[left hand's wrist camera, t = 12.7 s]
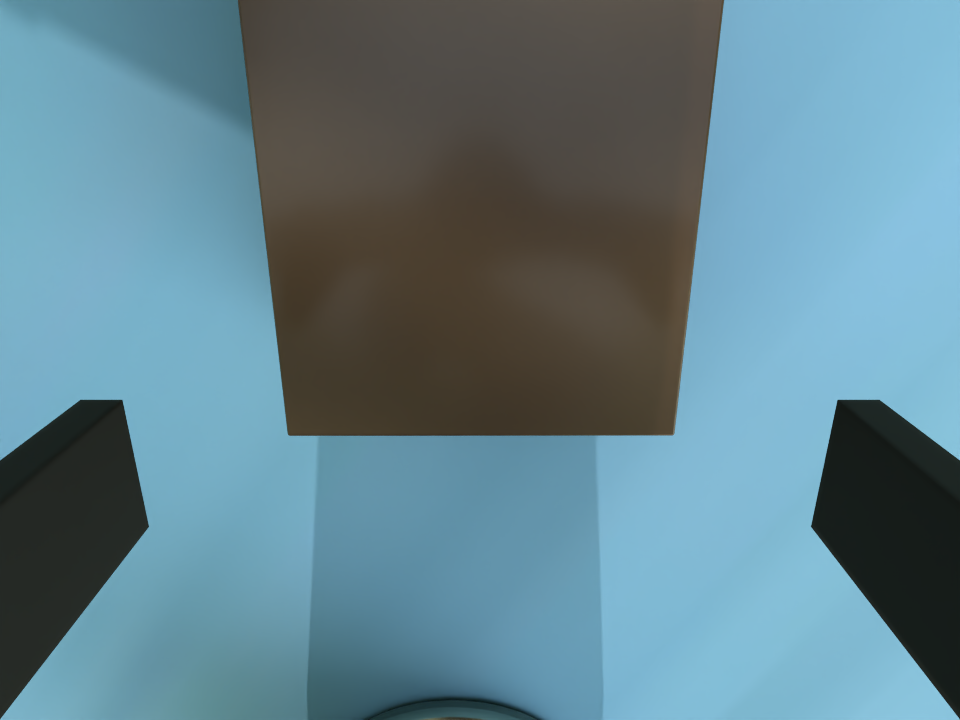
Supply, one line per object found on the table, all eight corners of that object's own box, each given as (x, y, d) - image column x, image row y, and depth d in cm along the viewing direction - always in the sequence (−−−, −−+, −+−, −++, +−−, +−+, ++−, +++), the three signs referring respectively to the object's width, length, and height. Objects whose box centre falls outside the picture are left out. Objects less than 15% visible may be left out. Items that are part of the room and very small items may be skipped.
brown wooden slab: (289, -302, 20) (173, -547, 12) (671, -302, 20) (788, -548, 12) (341, 342, 27) (287, 436, 20) (620, 342, 27) (674, 436, 20)
